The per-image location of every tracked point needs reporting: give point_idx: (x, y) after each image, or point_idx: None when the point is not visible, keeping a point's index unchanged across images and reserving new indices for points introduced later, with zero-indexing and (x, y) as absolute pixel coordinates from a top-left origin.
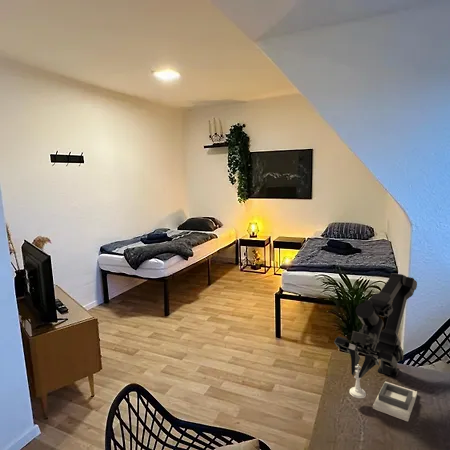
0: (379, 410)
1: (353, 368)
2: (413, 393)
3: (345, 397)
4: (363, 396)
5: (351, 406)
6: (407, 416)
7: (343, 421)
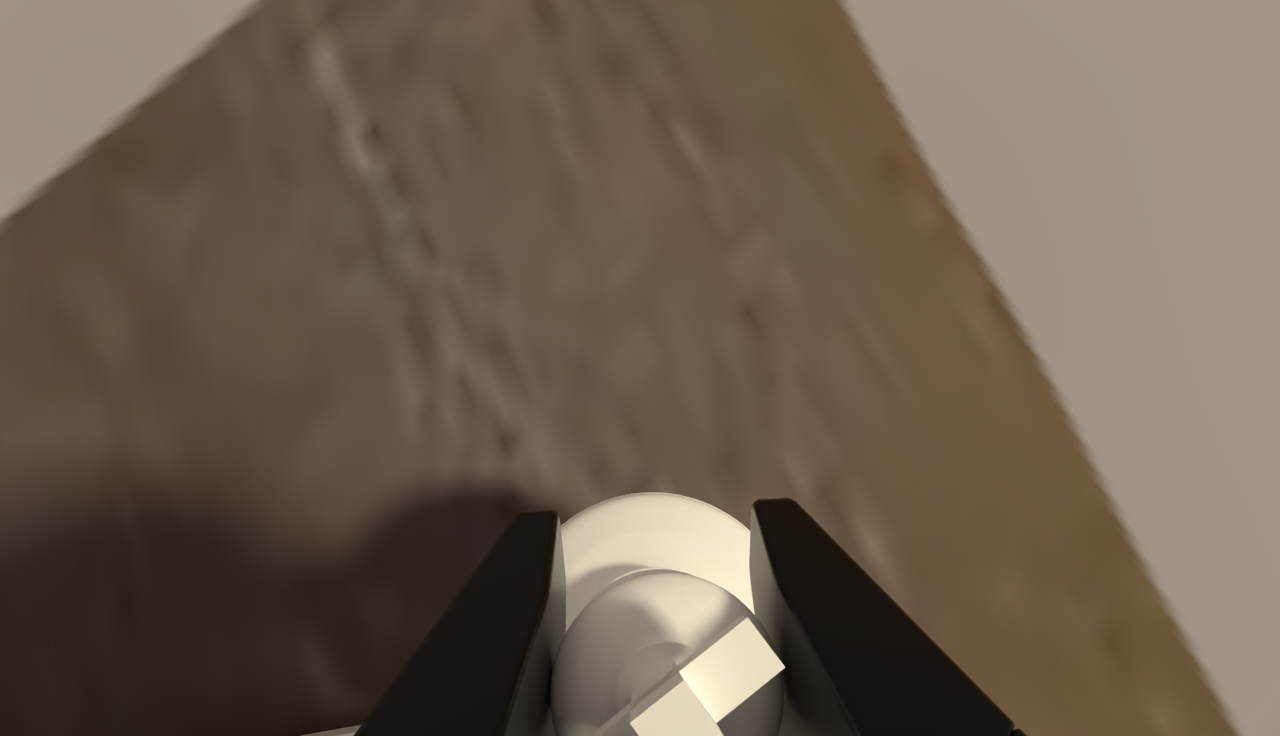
0: (342, 730)
1: (809, 603)
2: None
3: None
4: None
5: None
6: None
7: (614, 165)
